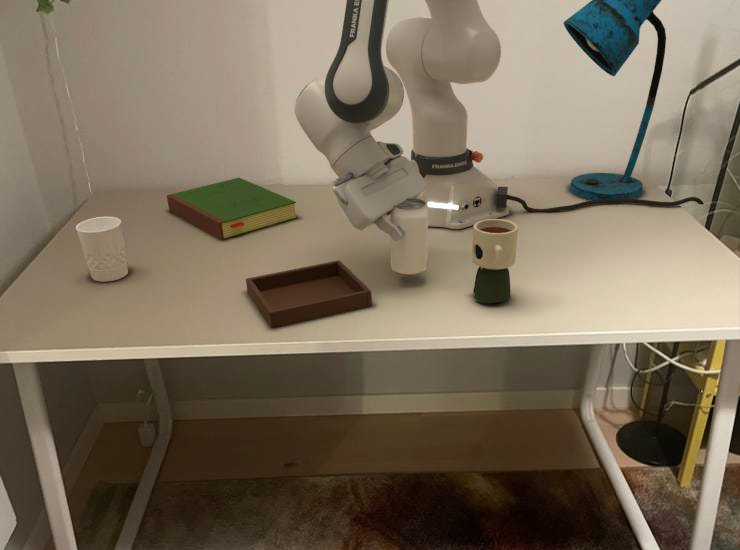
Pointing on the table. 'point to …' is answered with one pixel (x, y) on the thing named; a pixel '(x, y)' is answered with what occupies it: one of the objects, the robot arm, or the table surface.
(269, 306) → the tray
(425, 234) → the can
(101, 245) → the white cup
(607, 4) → the desk lamp
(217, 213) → the hardcover book
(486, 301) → the character mug
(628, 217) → the table surface
